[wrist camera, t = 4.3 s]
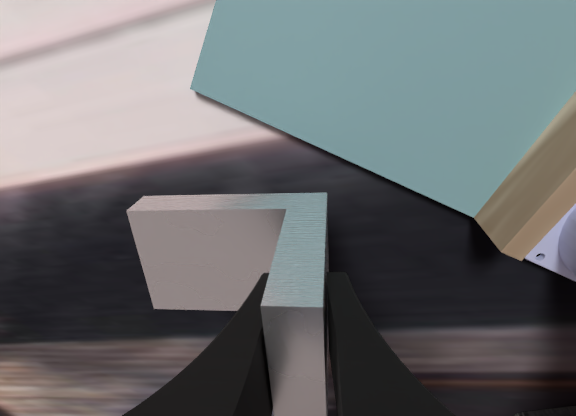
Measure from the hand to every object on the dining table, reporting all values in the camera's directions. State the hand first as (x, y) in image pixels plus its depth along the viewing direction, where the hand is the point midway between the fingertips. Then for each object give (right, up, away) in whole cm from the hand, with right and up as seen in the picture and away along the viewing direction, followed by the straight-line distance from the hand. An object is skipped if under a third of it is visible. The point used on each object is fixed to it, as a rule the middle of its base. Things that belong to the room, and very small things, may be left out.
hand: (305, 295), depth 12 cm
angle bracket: (-3, +1, +4) cm, 5 cm away
